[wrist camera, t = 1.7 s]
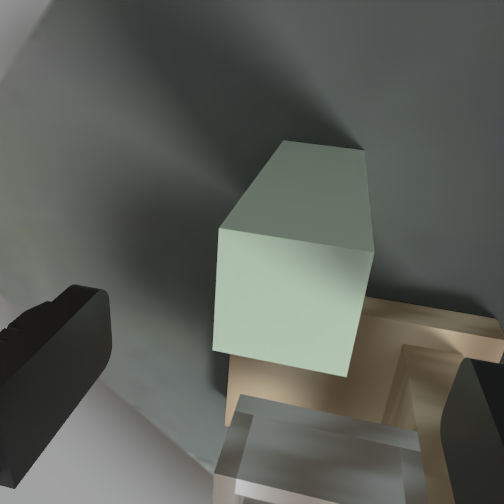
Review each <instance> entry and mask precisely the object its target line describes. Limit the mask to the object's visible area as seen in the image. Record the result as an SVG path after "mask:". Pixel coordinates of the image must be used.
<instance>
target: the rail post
mask: <svg viewBox="0 0 504 504" xmlns="http://www.w3.org/2000/svg"><path fill="white" fill-rule="evenodd" d="M373 257H374V242H373V232H372V222H371V212H370V201H369V191H368V181H367V171H366V160H365V150H358V149H350V148H342V147H334V146H326V145H318V144H310V143H302V142H294V141H286V140H283V142H282V143H281V144H280V146H279V147H278V148H277V150H276V151H275V152H274V154H273V155H272V157H271V158H270V159H269V161H268V162H267V163H266V165H265V166H264V167H263V169H262V170H261V171H260V173H259V174H258V176H257V177H256V178H255V180H254V181H253V182H252V184H251V185H250V186H249V188H248V189H247V190H246V192H245V193H244V195H243V196H242V197H241V199H240V200H239V201H238V203H237V204H236V205H235V207H234V208H233V209H232V211H231V212H230V214H229V215H228V216H227V218H226V219H225V220H224V222H223V223H222V224H221V226H220V227H219V235H218V254H217V274H216V293H215V312H214V331H213V351H218V352H223V353H228V354H233V355H238V356H243V357H248V358H253V359H258V360H263V361H268V362H273V363H278V364H283V365H288V366H293V367H298V368H303V369H308V370H313V371H318V372H323V373H328V374H333V375H338V376H343V377H347V373H348V369H349V364H350V360H351V355H352V351H353V346H354V342H355V337H356V333H357V328H358V324H359V320H360V315H361V311H362V306H363V302H364V297H365V293H366V288H367V284H368V279H369V275H370V270H371V266H372V261H373Z"/></svg>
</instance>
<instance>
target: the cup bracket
mask: <svg viewBox="0 0 504 504" xmlns="http://www.w3.org/2000/svg"><path fill="white" fill-rule="evenodd" d="M503 352H504V332H503V330H502V328H501V326H500V324H499V322H498V320H497V319H494V318H489V317H483V316H477V315H471V314H465V313H460V312H454V311H448V310H442V309H436V308H431V307H425V306H419V305H413V304H407V303H402V302H396V301H390V300H384V299H379V298H373V297H367V296H365V297H364V302H363V306H362V311H361V315H360V320H359V324H358V328H357V333H356V337H355V342H354V346H353V351H352V355H351V360H350V364H349V369H348V373H347V377H343V376H338V375H333V374H328V373H323V372H318V371H313V370H308V369H303V368H298V367H293V366H288V365H283V364H278V363H273V362H268V361H263V360H258V359H253V358H248V357H243V356H238V355H233V354H230V362H229V376H228V389H227V403H226V416H225V426H229V429H228V432H227V436H226V439H225V442H224V445H223V448H222V451H221V454H220V457H219V460H218V463H217V466H216V469H215V472H214V486H213V500H212V504H455V500H454V496H453V492H452V487H451V483H450V478H449V474H448V470H447V465H446V461H445V456H444V452H443V448H442V443H441V436H440V424H441V416H442V412H443V409H444V406H445V403H446V401H447V398H448V395H449V393H450V390H451V387H452V384H453V382H454V379H455V376H456V374H457V371H458V368H459V366H460V363H461V362H462V360H463V359H464V358H466V357H467V358H472V359H478V360H483V361H489V362H494V363H499V362H500V360H501V357H502V355H503Z"/></svg>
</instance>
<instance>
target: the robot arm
mask: <svg viewBox="0 0 504 504" xmlns="http://www.w3.org/2000/svg"><path fill="white" fill-rule="evenodd" d="M111 350H112V333H111V319H110V305H109V296H108V293H107V292H106V291H105V290H102V289H97V288H91V287H86V286H80V285H71V286H70V287H68V288H67V289H66V290H65V291H64V292H62V293H61V294H60V295H59V296H58V297H57V298H56V299H54V300H53V301H52V302H50V301H46V302H44V303H42V304H40V305H38V306H35V307H33V308H31V309H29V310H27V311H25V312H23V313H22V314H21V315H20V316H19V317H17V318H16V319H15V320H14V321H13V322H11V323H10V324H9V325H8V328H7V329H5V328H4V329H3V330H2V331H1V332H0V485H1V486H5V487H9V488H13V489H15V488H16V487H17V485H18V484H19V483H20V481H21V480H22V479H23V477H24V476H25V475H26V473H27V472H28V471H29V469H30V468H31V467H32V465H33V464H34V462H35V461H36V460H37V459H38V457H39V456H40V455H41V453H42V452H43V451H44V449H45V448H46V447H47V445H48V444H49V443H50V441H51V440H52V439H53V437H54V436H55V435H56V433H57V432H58V430H59V429H60V428H61V427H62V425H63V424H64V423H65V421H66V419H67V418H68V417H69V416H70V414H71V413H72V412H73V410H74V409H75V408H76V406H77V405H78V404H79V402H80V401H81V399H82V398H83V397H84V396H85V394H86V393H87V392H88V390H89V389H90V388H91V386H92V385H93V384H94V382H95V381H96V380H97V378H98V377H99V376H100V374H101V373H102V372H103V370H104V369H105V367H106V366H107V363H108V361H109V358H110V355H111ZM440 436H441V443H442V448H443V452H444V456H445V461H446V465H447V470H448V474H449V478H450V483H451V487H452V492H453V496H454V500H455V504H504V364H500V363H494V362H489V361H483V360H478V359H472V358H467V357H466V358H464V359H463V360H462V362H461V363H460V366H459V368H458V371H457V374H456V376H455V379H454V382H453V384H452V387H451V390H450V393H449V395H448V398H447V401H446V403H445V406H444V409H443V412H442V416H441V424H440Z"/></svg>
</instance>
